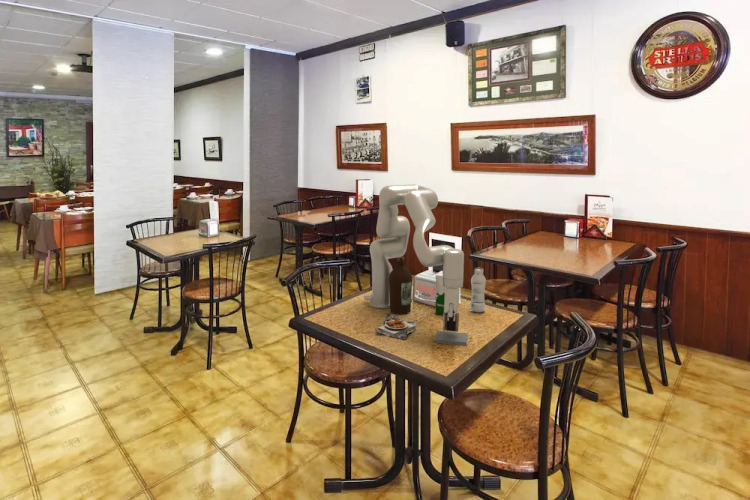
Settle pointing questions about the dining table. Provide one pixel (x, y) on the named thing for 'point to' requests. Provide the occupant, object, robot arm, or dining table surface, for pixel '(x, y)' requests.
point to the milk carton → (439, 293)
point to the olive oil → (400, 288)
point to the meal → (396, 327)
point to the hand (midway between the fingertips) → (451, 327)
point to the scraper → (445, 318)
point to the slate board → (451, 338)
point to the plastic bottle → (478, 291)
